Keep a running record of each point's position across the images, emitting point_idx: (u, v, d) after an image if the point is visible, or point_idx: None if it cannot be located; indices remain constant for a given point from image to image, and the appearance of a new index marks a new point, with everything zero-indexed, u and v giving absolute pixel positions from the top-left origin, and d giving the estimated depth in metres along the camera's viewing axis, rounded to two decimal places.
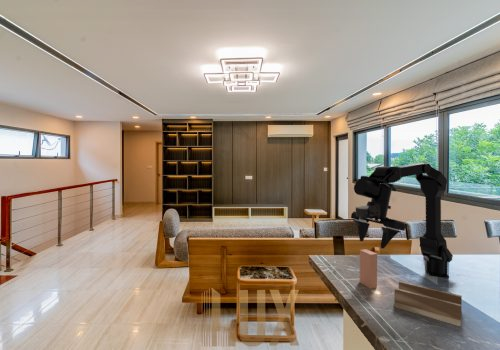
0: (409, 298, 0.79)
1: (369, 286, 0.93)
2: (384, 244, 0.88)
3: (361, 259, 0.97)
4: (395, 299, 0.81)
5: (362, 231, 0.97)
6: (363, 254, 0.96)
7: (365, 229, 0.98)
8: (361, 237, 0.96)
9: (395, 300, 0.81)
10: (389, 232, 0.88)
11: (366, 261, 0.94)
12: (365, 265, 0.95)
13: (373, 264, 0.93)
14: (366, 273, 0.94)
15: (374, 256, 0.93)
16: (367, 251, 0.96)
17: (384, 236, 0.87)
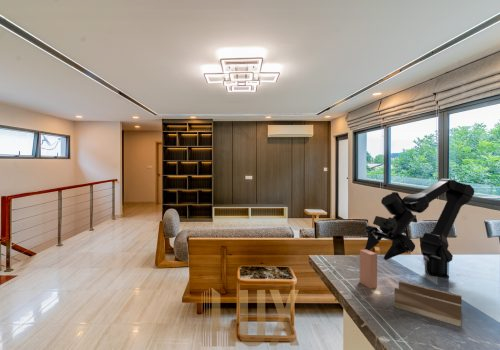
0: (409, 298, 0.79)
1: (369, 286, 0.93)
2: (388, 256, 0.91)
3: (361, 259, 0.97)
4: (395, 299, 0.81)
5: (370, 243, 1.01)
6: (363, 254, 0.96)
7: (373, 243, 1.02)
8: (367, 248, 1.00)
9: (395, 300, 0.81)
10: (397, 248, 0.92)
11: (366, 261, 0.94)
12: (365, 265, 0.95)
13: (373, 264, 0.93)
14: (366, 273, 0.94)
15: (374, 256, 0.93)
16: (367, 251, 0.96)
17: (391, 248, 0.91)
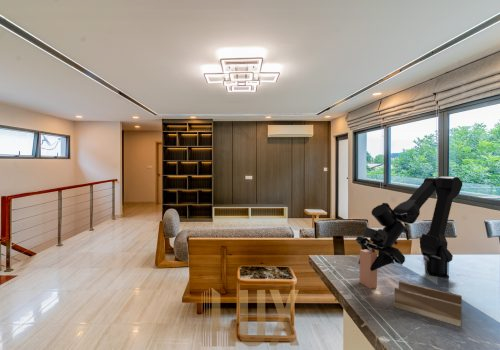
0: (409, 298, 0.79)
1: (369, 286, 0.93)
2: (374, 267, 0.92)
3: (361, 259, 0.97)
4: (395, 299, 0.81)
5: None
6: (363, 254, 0.96)
7: None
8: None
9: (395, 300, 0.81)
10: (383, 259, 0.92)
11: (366, 261, 0.94)
12: (365, 265, 0.95)
13: None
14: (366, 273, 0.94)
15: (374, 256, 0.93)
16: (367, 251, 0.96)
17: (377, 259, 0.92)
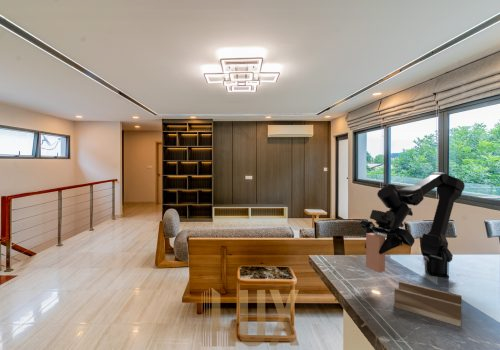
0: (409, 298, 0.79)
1: (377, 270, 0.90)
2: (383, 250, 0.89)
3: (368, 243, 0.93)
4: (395, 299, 0.81)
5: None
6: (370, 237, 0.92)
7: None
8: None
9: (395, 300, 0.81)
10: (391, 242, 0.89)
11: (374, 245, 0.91)
12: (373, 249, 0.91)
13: None
14: (374, 257, 0.91)
15: (382, 239, 0.89)
16: (374, 234, 0.92)
17: (386, 242, 0.88)
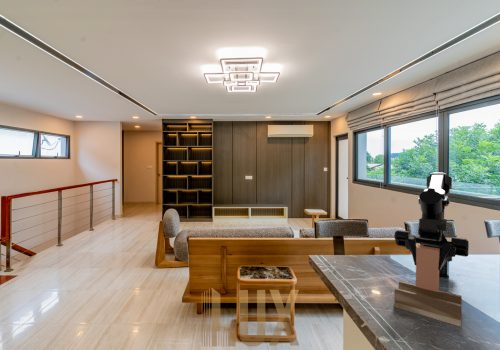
0: (409, 298, 0.79)
1: (436, 289, 0.76)
2: (442, 265, 0.76)
3: (419, 258, 0.79)
4: (395, 299, 0.81)
5: (415, 254, 0.81)
6: (424, 252, 0.78)
7: None
8: None
9: (395, 300, 0.81)
10: None
11: (430, 260, 0.77)
12: (428, 265, 0.77)
13: (438, 262, 0.77)
14: (430, 274, 0.77)
15: (439, 252, 0.77)
16: (426, 247, 0.79)
17: (444, 255, 0.77)
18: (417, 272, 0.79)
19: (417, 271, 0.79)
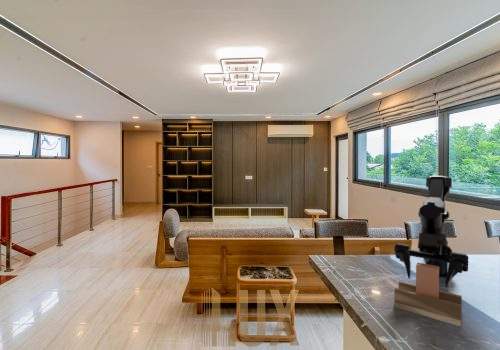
0: (409, 298, 0.79)
1: None
2: (449, 282, 0.75)
3: (419, 276, 0.79)
4: (395, 299, 0.81)
5: None
6: (423, 270, 0.78)
7: (410, 266, 0.84)
8: (409, 273, 0.81)
9: (395, 300, 0.81)
10: None
11: (429, 278, 0.77)
12: (427, 283, 0.78)
13: (438, 280, 0.77)
14: (430, 292, 0.77)
15: (438, 270, 0.77)
16: (425, 265, 0.79)
17: (451, 272, 0.76)
18: (417, 290, 0.79)
19: (417, 289, 0.79)
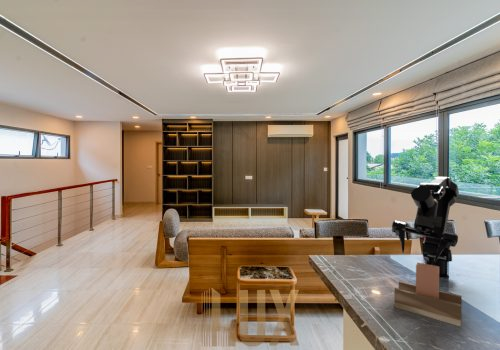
0: (409, 298, 0.79)
1: None
2: (438, 257, 0.86)
3: (419, 276, 0.79)
4: (395, 299, 0.81)
5: None
6: (423, 270, 0.78)
7: None
8: None
9: (395, 300, 0.81)
10: None
11: (429, 278, 0.77)
12: (427, 283, 0.78)
13: (438, 280, 0.77)
14: (430, 292, 0.77)
15: (438, 270, 0.77)
16: (425, 265, 0.79)
17: (441, 249, 0.86)
18: (417, 290, 0.79)
19: (417, 289, 0.79)
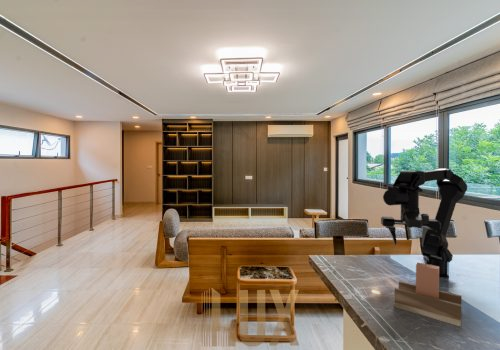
0: (409, 298, 0.79)
1: None
2: None
3: (419, 276, 0.79)
4: (395, 299, 0.81)
5: None
6: (423, 270, 0.78)
7: None
8: (395, 241, 1.00)
9: (395, 300, 0.81)
10: None
11: (429, 278, 0.77)
12: (427, 283, 0.78)
13: (438, 280, 0.77)
14: (430, 292, 0.77)
15: (438, 270, 0.77)
16: (425, 265, 0.79)
17: (427, 236, 0.96)
18: (417, 290, 0.79)
19: (417, 289, 0.79)
